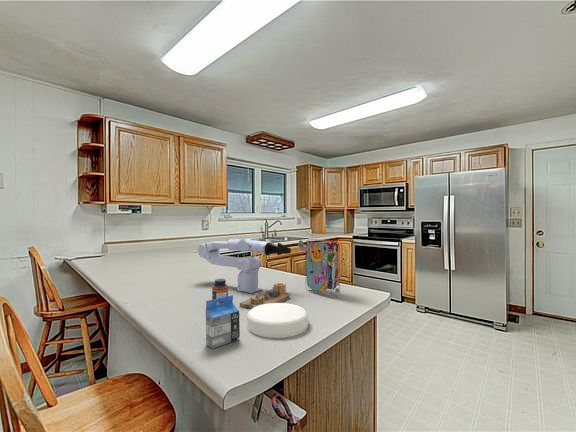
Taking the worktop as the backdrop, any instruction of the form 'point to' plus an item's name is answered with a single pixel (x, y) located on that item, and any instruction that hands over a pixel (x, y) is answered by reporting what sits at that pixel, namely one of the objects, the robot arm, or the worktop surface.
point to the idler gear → (280, 287)
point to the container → (277, 320)
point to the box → (321, 265)
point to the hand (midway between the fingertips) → (286, 250)
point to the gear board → (265, 298)
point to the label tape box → (221, 322)
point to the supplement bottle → (219, 290)
